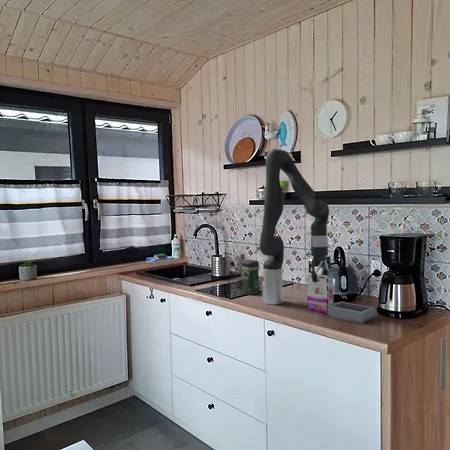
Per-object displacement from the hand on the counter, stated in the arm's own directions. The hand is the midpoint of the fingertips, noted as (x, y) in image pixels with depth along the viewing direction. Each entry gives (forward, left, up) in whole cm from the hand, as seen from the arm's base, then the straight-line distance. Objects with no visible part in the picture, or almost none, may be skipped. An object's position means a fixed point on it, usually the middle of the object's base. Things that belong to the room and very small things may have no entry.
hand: (320, 280), depth 190 cm
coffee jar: (-48, +4, -14) cm, 50 cm away
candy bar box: (0, 0, -14) cm, 14 cm away
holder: (+15, 0, -14) cm, 21 cm away
